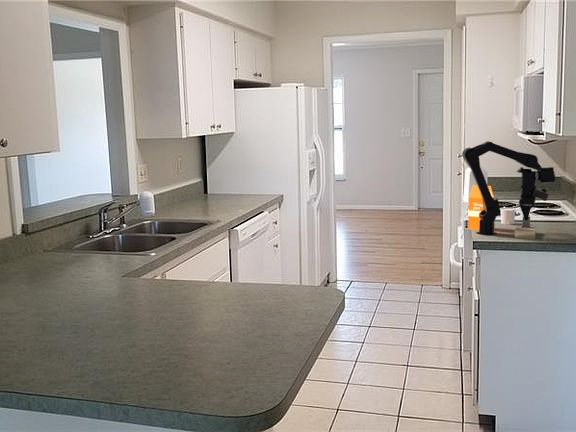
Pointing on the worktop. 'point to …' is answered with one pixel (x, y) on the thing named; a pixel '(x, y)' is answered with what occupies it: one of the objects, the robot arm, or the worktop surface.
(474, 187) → the orange juice
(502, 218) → the white cylinder
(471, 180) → the milk
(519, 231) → the socket block
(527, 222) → the square bit
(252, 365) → the worktop surface
